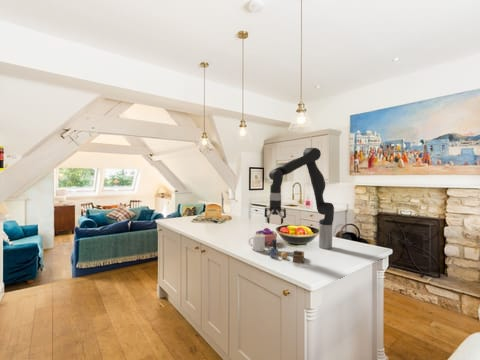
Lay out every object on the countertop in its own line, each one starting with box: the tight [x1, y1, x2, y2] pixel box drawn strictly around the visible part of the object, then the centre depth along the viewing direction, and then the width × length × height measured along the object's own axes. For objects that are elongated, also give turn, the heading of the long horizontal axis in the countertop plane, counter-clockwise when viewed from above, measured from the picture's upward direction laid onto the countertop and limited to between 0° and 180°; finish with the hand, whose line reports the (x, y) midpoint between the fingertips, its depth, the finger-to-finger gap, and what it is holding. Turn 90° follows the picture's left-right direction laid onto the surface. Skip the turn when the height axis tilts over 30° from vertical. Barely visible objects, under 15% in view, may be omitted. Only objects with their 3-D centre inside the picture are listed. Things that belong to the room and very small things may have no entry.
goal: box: [292, 250, 305, 264], centre depth 160 cm, size 10×6×4 cm, turn 165°
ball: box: [280, 252, 288, 260], centre depth 162 cm, size 4×4×4 cm
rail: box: [267, 247, 298, 257], centre depth 171 cm, size 3×19×3 cm, turn 75°
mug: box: [248, 233, 266, 252], centre depth 181 cm, size 12×8×10 cm
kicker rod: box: [269, 238, 279, 259], centre depth 168 cm, size 12×5×9 cm, turn 165°
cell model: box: [255, 227, 278, 245], centre depth 199 cm, size 17×20×11 cm
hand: (275, 223), depth 171 cm, fingers open, 8 cm apart
